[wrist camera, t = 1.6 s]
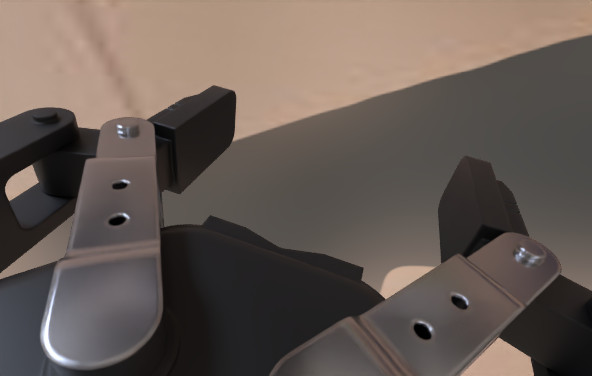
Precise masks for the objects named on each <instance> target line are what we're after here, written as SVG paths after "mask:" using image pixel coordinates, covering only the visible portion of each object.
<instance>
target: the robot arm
mask: <svg viewBox="0 0 592 376" xmlns="http://www.w3.org/2000/svg"><path fill="white" fill-rule="evenodd" d="M235 113H236V94H235V92H234V91H232V90H229V89H225V88H222V87H218V86H212V87H210V88H208V89H207V90H205V91H203V92H202V93H200V94H198V95H194V96H190V97H186V98H183V99H182V100H180V101H178V102H176V103H175V104H173V105H171V106H170V107H168V109H164V110H163V111H161V112H159V113H158V114H156V115H154V116H152V117H151V118H149V119H147V120H145V119H141V118H135V117H124V118H117V119H113V120H110V121H108V122H106V123H105V124H103V125H102V127H101V129H100V130H97V129H88V128H79V127H78V126H77V122H76V118H75V115H74V113H73V112H71V111H69V110H66V109H62V108H38V109H33V110H29V111H26V112H24V113H21V114H19V115H17V116H14V117H12V118H10V119H7V120H5V121H3V122H0V273H1V272H2V271H3V270H5V269H6V268H7V267H8V266H10V265H11V264H12V263H13V262H15V261H16V260H17V259H18V258H19V257H21V256H22V255H23V254H24V253H26V252H27V251H28V250H29V249H31V248H32V247H33V246H34V245H36V244H37V243H38V242H39V241H41V240H42V239H43V238H44V237H46V236H47V235H48V234H49V233H51V232H52V231H53V230H54V229H56V228H57V227H58V226H59V225H61V224H62V223H63V222H64V221H65V220H67V219H68V218H69V217H70V216H72V215H73V214H74V217H73V222H72V227H71V232H70V236H69V241H68V246H67V250H66V254H65V256H64V257H63V258H61V259H60V260H59V261H56V262H53V263H50V264H47V265H43V266H41V267H37V268H34V269H31V270H28V271H25V272H22V273H18V274H15V275H12V276H9V277H6V278H3V279H0V376H460V375H461V374H462V373H463V372H464V371H465V370H466V369H467V368H468V367H469V366H470V365H471V364H472V363H473V362H474V361H475V360H476V359H477V358H478V357H479V356H480V355H481V354H482V353H483V352H484V351H485V350H486V349H487V348H488V347H489V346H490V345H491V344H492V343H493V342H494V341H495V340H496V339H497V338H498V337H499V338H501V339H502V340H504V341H505V342H507V343H509V344H510V345H512V346H513V347H515V348H517V349H518V350H520V351H521V352H523V353H525V354H526V355H528V356H529V357H531V362H532V367H533V372H534V376H592V291H591V290H589V289H587V288H585V287H583V286H581V285H579V284H577V283H575V282H573V281H571V280H569V279H567V278H566V277H564V276H562V275H560V273H561V270H562V268H561V264H560V262H559V260H558V259H557V257H556V256H555V255H554V254H553V253H552V252H551V251H550V250H549V249H548V248H547V247H545V246H544V245H542V244H541V243H539V242H538V241H536V240H534V239H532V238H530V237H529V234H528V232H527V229H526V227H525V224H524V221H523V219H522V217H521V214H519V213H520V211H519V209H518V206H517V205H516V204H517V203H516V201H515V198H514V195H513V193H512V192H511V191H510V190H509V188H508V187H507V186H506V185H505V184H504V183H503V182H501V181H498V180H496V178H495V175H494V172H493V169H492V166H491V163H490V162H487V161H483V160H479V159H475V158H472V157H469V156H465V157H463V158H462V160H461V161H460V163H459V165H458V166H457V168H456V170H455V172H454V174H453V176H452V178H451V180H450V182H449V184H448V185H447V187H446V189H445V191H444V193H443V195H442V197H441V200H440V204H439V208H438V217H439V232H440V249H441V264H440V265H439V266H437V267H436V268H434V269H433V270H431V271H430V272H428V273H426V274H425V275H423V276H422V277H420V278H419V279H417V280H415V281H414V282H412V283H411V284H409V285H408V286H406V287H405V288H403V289H401V290H400V291H398V292H397V293H395V294H394V295H392V296H391V297H389V298H387V299H385V298H384V297H383V296H381V295H380V294H379V293H378V292H377V291H376V290H374V289H373V288H372V287H370V286H369V285H368V284H366V283H365V282H363V281H361V279H362V273H363V267H359V266H356V265H354V264H351V263H348V262H345V261H342V260H339V259H336V258H333V257H330V256H327V255H325V254H318V253H311V252H304V251H297V250H290V249H284V248H280V247H278V246H276V245H274V244H273V243H271V242H269V241H268V240H266V239H264V238H263V237H261V236H259V235H257V234H256V233H254V232H252V231H251V230H249V229H247V228H246V227H243V226H240V225H237V224H234V223H231V222H228V221H225V220H223V219H219V218H217V217H213V216H211V215H210V216H209V217H208V219H207V220H206V221H205V222H204V223H203V225H192V224H188V225H187V224H185V225H175V226H167V227H164V219H163V204H162V194H161V193H162V192H163V191H164V190H169V191H171V192H174V193H177V194H181V193H182V191H184V190H185V189H186V188H187V187H188V186H189V185H190V184H191V183H192V182H193V181H194V180H195V179H196V178H197V177H198V176H199V175H200V174H201V173H202V172H203V171H204V170H205V169H206V168H207V167H208V166H209V165H211V164H212V163H213V162H214V161H215V159H217V158H218V157H219V156H220V155H221V154H222V153H223V152H224V151H225V150H226V149H227V148H228V147H229V146H230V144H231V142H232V140H233V137H234V132H235ZM30 165H33V168H34V170H35V173H36V176H37V178H38V181H39V183H37V184H36V185H34V186H33V187H31V188H30V189H28V190H26V191H25V192H23V193H22V194H20V195H19V196H17V197H15V198H14V199H12V200H11V201H9V200H8V198H7V196H6V193H5V186H6V183H7V181H8V180H9V179H10V177H12V176H13V175H14V174H16V173H18V172H19V171H21V170H23V169H25V168H26V167H28V166H30Z"/></svg>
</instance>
